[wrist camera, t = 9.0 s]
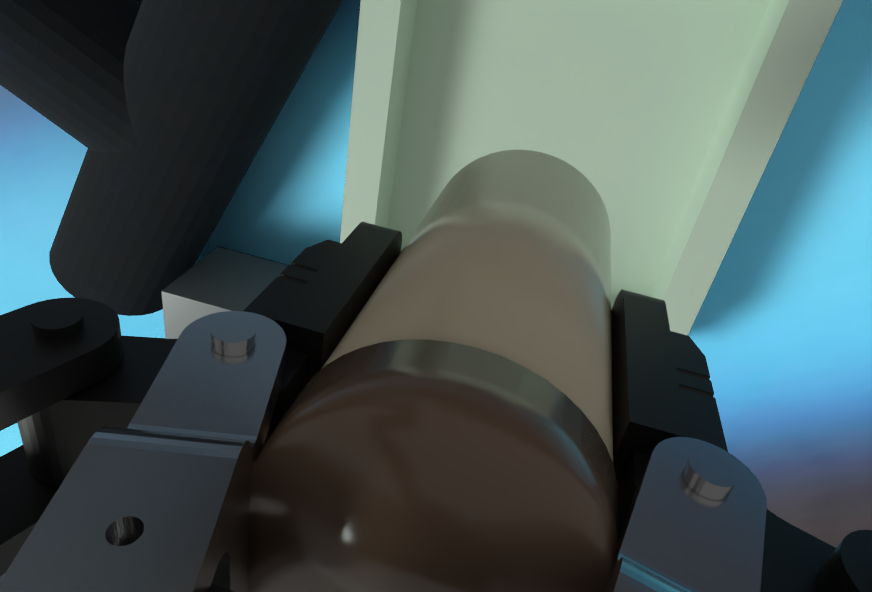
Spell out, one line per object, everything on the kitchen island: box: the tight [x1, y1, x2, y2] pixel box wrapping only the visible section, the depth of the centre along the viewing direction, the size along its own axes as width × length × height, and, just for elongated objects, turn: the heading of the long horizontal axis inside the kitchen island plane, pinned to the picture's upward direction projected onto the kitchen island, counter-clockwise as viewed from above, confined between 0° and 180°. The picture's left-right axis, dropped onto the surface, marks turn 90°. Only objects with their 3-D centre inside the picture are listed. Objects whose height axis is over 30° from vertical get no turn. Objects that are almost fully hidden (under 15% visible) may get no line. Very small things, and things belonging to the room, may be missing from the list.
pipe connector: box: [0, 0, 342, 316], centre depth 21 cm, size 12×5×15 cm
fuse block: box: [162, 247, 288, 339], centre depth 29 cm, size 16×9×4 cm, turn 171°
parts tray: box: [340, 0, 843, 335], centre depth 20 cm, size 14×12×2 cm
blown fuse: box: [249, 150, 619, 592], centre depth 10 cm, size 4×4×9 cm
